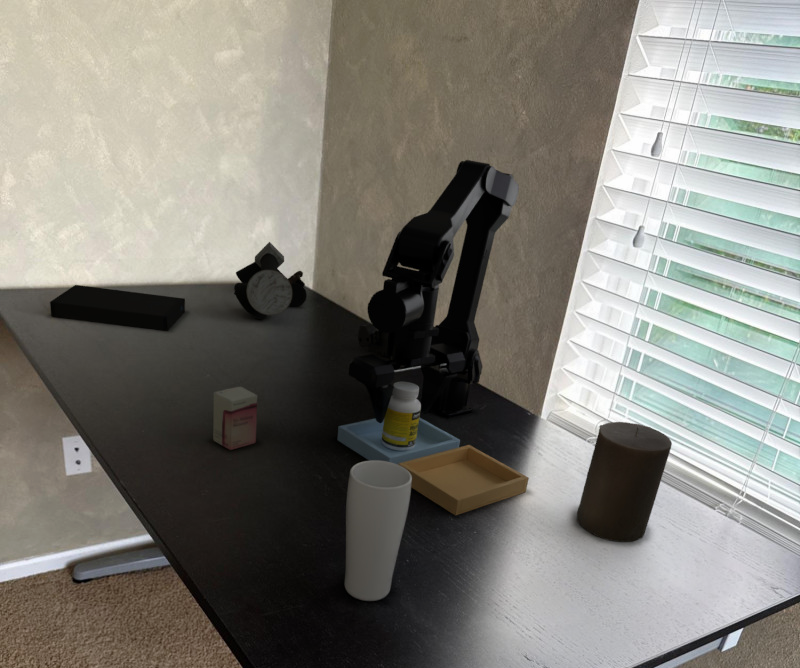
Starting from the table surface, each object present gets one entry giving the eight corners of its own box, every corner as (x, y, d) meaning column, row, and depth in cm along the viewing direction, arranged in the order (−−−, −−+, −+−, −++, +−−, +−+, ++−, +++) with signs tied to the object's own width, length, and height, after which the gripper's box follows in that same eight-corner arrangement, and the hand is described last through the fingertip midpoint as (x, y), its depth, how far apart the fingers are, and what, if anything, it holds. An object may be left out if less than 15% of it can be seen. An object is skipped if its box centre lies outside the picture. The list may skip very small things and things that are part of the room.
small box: (230, 451, 120) (230, 401, 116) (212, 440, 122) (212, 391, 118) (257, 443, 123) (258, 394, 119) (239, 433, 126) (240, 385, 122)
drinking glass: (337, 572, 96) (348, 457, 88) (393, 575, 97) (409, 461, 89) (338, 606, 90) (350, 486, 83) (398, 608, 91) (416, 490, 83)
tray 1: (406, 424, 137) (408, 411, 136) (458, 453, 129) (460, 439, 128) (337, 440, 128) (338, 426, 127) (388, 472, 120) (389, 458, 119)
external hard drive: (77, 298, 175) (75, 284, 173) (185, 312, 176) (185, 298, 174) (51, 316, 162) (49, 301, 161) (167, 331, 163) (167, 316, 162)
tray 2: (466, 458, 128) (468, 444, 127) (525, 492, 120) (529, 477, 119) (396, 477, 119) (398, 463, 118) (455, 515, 111) (458, 500, 110)
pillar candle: (641, 549, 109) (673, 448, 102) (569, 529, 112) (596, 429, 104) (647, 518, 117) (678, 423, 110) (581, 501, 120) (606, 406, 112)
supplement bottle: (411, 454, 126) (420, 395, 121) (377, 448, 126) (384, 388, 121) (418, 441, 130) (426, 383, 125) (385, 435, 131) (392, 377, 126)
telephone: (280, 353, 177) (278, 310, 202) (321, 313, 173) (314, 274, 198) (226, 302, 169) (231, 264, 194) (268, 259, 166) (268, 226, 191)
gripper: (425, 297, 129) (412, 390, 137) (330, 307, 117) (322, 408, 125) (474, 318, 122) (458, 414, 130) (378, 330, 111) (367, 435, 119)
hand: (401, 417), depth 126 cm, fingers open, 9 cm apart
